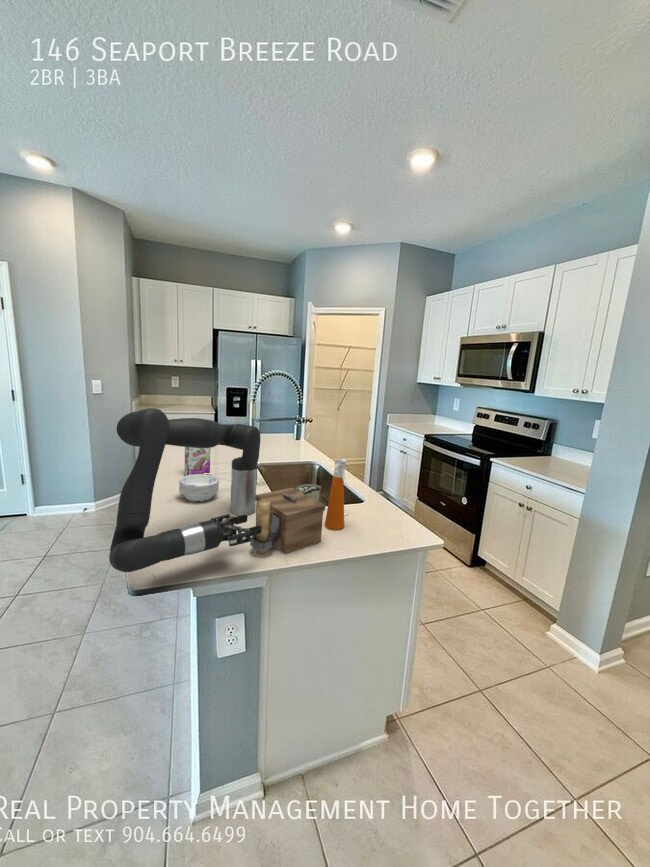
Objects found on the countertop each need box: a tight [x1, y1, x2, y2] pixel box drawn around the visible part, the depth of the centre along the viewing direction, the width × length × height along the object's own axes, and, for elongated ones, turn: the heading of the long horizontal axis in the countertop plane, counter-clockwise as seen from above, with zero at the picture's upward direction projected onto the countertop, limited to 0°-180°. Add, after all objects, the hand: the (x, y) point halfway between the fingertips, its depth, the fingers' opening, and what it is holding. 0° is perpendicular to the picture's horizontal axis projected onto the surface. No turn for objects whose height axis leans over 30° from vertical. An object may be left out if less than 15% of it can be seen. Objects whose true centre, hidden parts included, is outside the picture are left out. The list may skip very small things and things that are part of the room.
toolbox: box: [255, 487, 326, 555], centre depth 117 cm, size 19×15×14 cm
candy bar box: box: [184, 447, 211, 476], centre depth 172 cm, size 11×5×16 cm, turn 130°
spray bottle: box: [324, 458, 348, 531], centre depth 124 cm, size 7×11×26 cm, turn 16°
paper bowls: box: [178, 474, 220, 502], centre depth 145 cm, size 15×15×8 cm
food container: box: [295, 483, 322, 502], centre depth 138 cm, size 12×6×10 cm, turn 141°
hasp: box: [249, 514, 281, 550], centre depth 107 cm, size 7×8×8 cm
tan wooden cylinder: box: [255, 500, 270, 556], centre depth 106 cm, size 4×4×16 cm
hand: (253, 523), depth 103 cm, fingers open, 8 cm apart
